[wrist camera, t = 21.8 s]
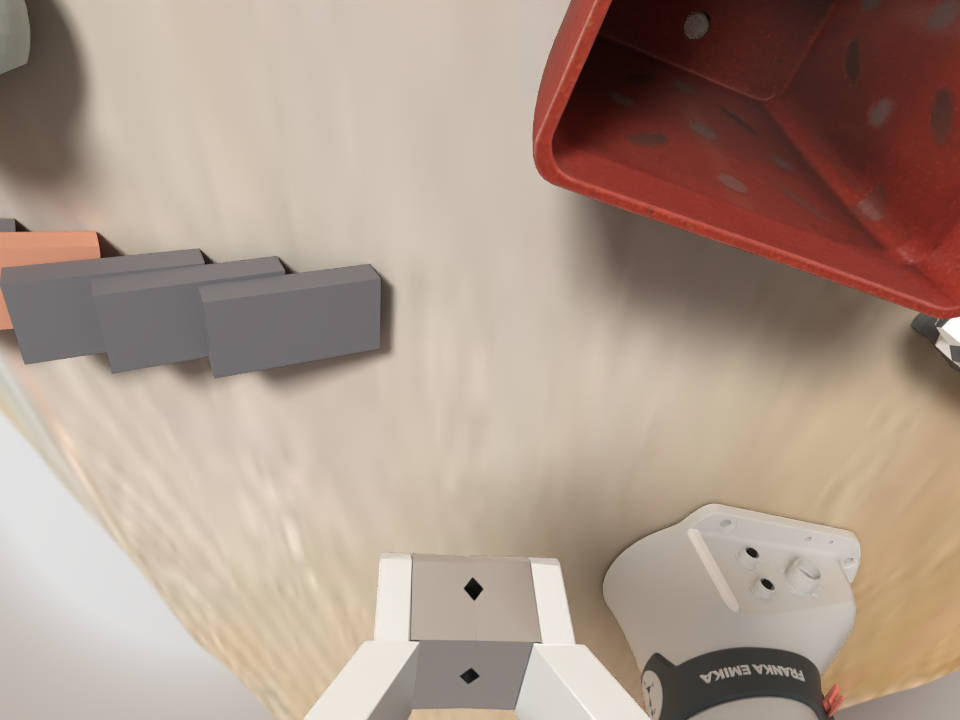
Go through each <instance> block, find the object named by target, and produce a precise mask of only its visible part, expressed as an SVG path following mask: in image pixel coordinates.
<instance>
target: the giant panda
mask: <svg viewBox="0 0 960 720" xmlns="http://www.w3.org/2000/svg"><path fill="white" fill-rule="evenodd" d="M911 325H912V326H913V327H914V328H915V329H916V330H917V331H918V332H919V333H921V334H922V335H924V336H925V337H926V338H928V339H929V340H930V342H931V343H932V344H933V345H934V347H935V348H936V349H937V350H938V351H939V352H940V353H941V355H942V356H943V357H944V358H945V359H946V361H947V362H948V363H949V364H950V366H951V367H953V368H954V369H956V370H957V371H959V372H960V317H958V318H951V319H944V320H943V319H937V318H934V317H931V316H929V315H926V314H923V313H921V314H919V315H918V316H916V318H915V319H914V321H913V323H912V324H911Z"/></svg>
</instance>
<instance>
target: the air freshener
mask: <svg viewBox="0 0 960 720" xmlns="http://www.w3.org/2000/svg"><path fill="white" fill-rule="evenodd" d="M29 51H30V24H29V18H28V13H27V7H26V4H25V1H24V0H0V74H2V73H5V72H7V71H10V70H12V69H15V68H17V67H19V66H22V65H24V64H27V62H28V57H29Z"/></svg>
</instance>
